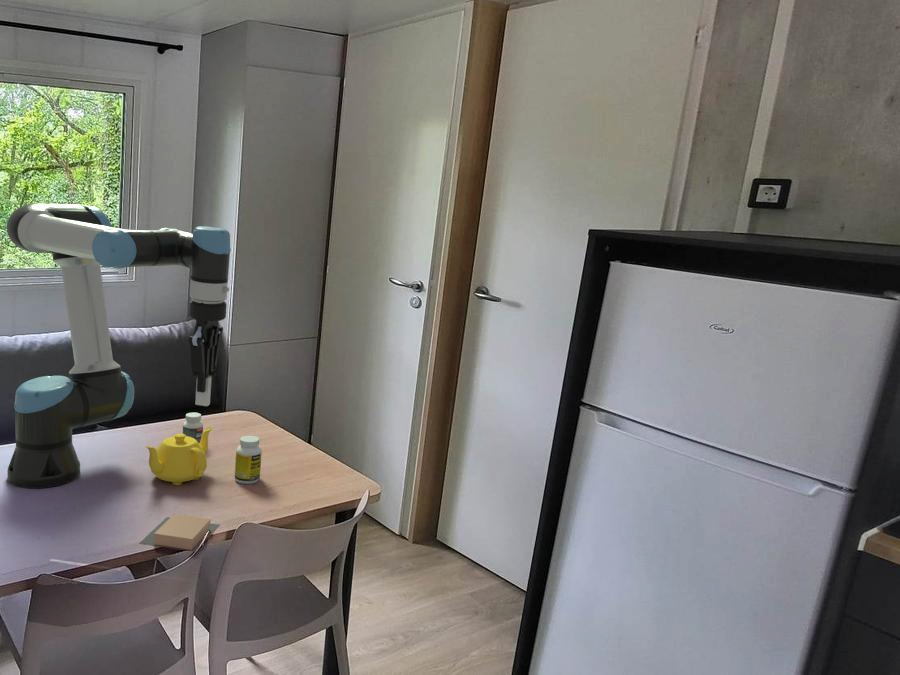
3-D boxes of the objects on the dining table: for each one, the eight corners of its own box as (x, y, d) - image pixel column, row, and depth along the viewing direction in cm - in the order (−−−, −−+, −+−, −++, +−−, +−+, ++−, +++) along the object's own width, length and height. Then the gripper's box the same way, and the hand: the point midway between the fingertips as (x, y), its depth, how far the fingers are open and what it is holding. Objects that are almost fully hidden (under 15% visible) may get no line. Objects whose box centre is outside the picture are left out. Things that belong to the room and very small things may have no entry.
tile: (174, 524, 154) (153, 544, 145) (174, 513, 153) (154, 533, 144) (210, 530, 153) (191, 550, 144) (210, 519, 153) (192, 539, 144)
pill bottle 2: (252, 486, 177) (255, 444, 175) (230, 482, 178) (232, 440, 176) (264, 477, 183) (266, 436, 181) (242, 473, 184) (244, 432, 182)
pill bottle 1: (198, 449, 196) (199, 418, 194) (179, 447, 196) (180, 416, 194) (204, 442, 201) (206, 412, 199) (186, 440, 201) (187, 410, 199)
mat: (139, 545, 145) (139, 543, 145) (166, 518, 157) (166, 517, 157) (196, 553, 144) (196, 551, 144) (219, 526, 156) (219, 524, 156)
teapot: (168, 501, 165) (169, 455, 162) (125, 483, 171) (126, 438, 169) (233, 476, 182) (235, 433, 180) (192, 460, 189) (194, 419, 186)
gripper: (213, 307, 146) (207, 416, 151) (236, 297, 159) (230, 398, 164) (177, 302, 147) (172, 411, 152) (203, 293, 159) (198, 393, 164)
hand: (202, 404), depth 158 cm, fingers closed
